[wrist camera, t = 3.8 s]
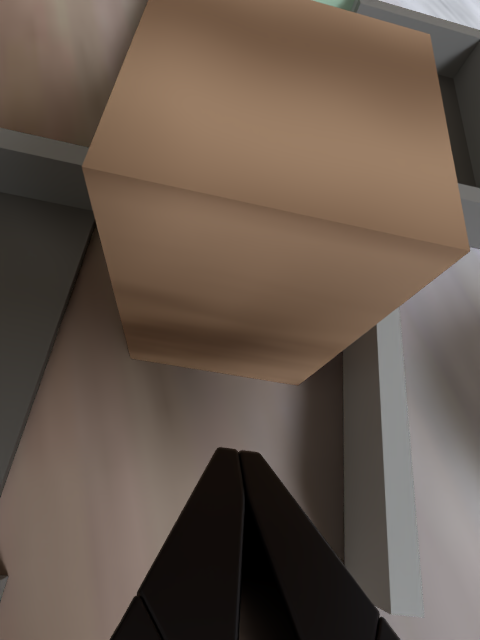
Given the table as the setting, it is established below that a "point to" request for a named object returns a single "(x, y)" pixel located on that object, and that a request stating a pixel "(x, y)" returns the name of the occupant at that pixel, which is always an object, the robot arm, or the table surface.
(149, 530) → the table surface
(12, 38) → the table surface
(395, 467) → the bent walled tray
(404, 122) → the walnut block
